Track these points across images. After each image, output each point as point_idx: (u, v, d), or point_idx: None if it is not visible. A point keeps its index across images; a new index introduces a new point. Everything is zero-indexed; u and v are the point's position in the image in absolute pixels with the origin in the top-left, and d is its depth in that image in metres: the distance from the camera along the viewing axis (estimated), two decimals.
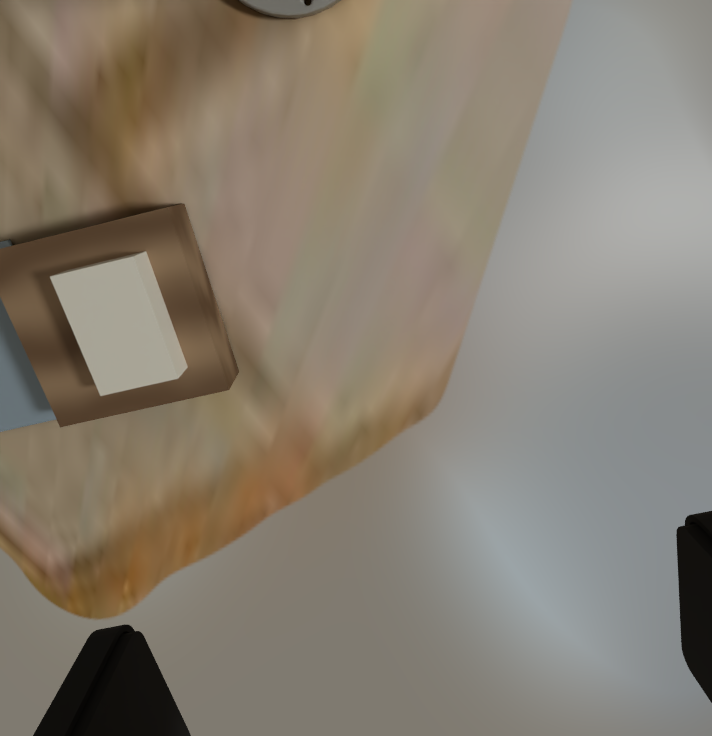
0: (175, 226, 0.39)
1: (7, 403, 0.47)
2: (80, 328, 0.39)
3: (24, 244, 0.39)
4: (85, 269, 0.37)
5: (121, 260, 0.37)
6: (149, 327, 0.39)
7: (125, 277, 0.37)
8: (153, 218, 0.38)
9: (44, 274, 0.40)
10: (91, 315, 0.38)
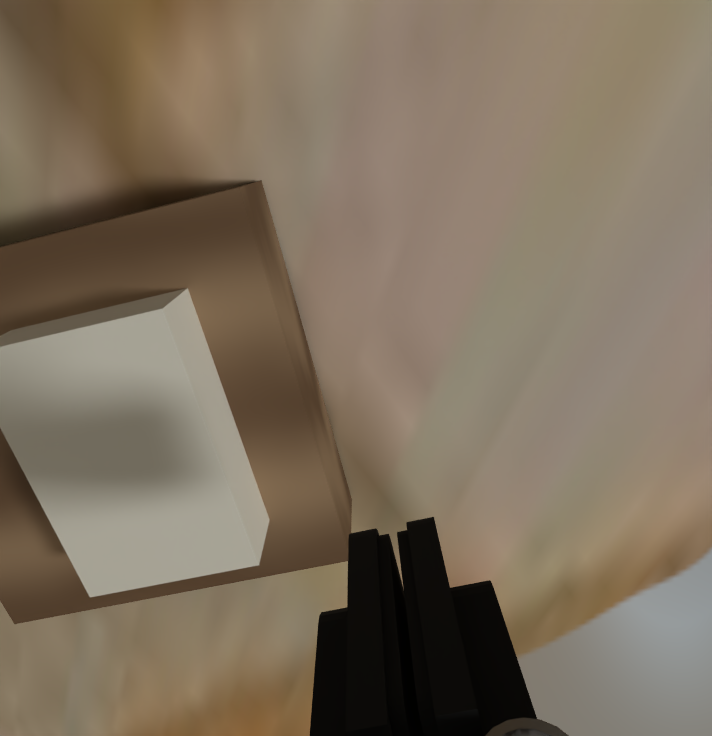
0: (255, 233, 0.17)
1: None
2: (41, 467, 0.17)
3: None
4: (47, 339, 0.15)
5: (133, 318, 0.15)
6: (198, 464, 0.17)
7: (144, 357, 0.16)
8: (205, 213, 0.17)
9: None
10: (64, 439, 0.17)
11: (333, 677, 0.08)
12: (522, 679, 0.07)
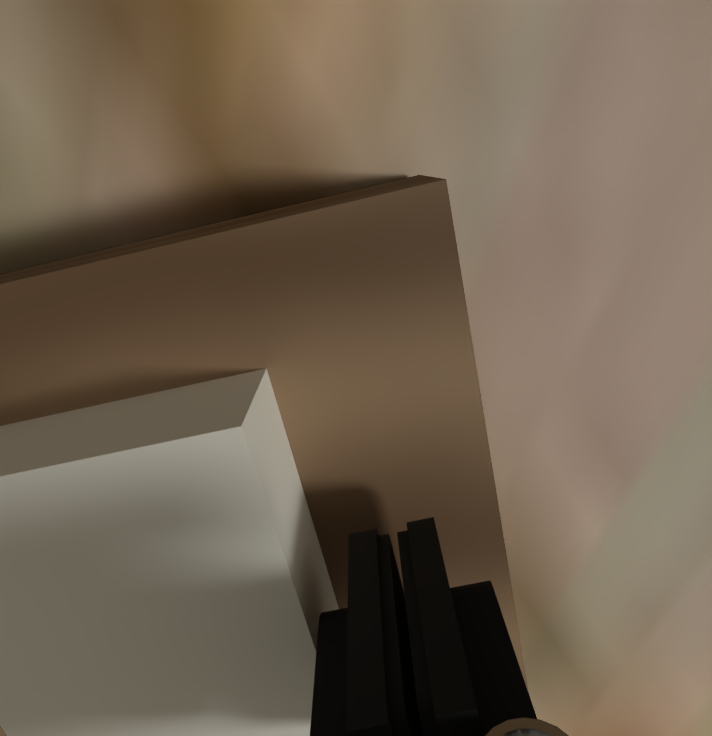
0: (457, 260, 0.10)
1: None
2: (9, 683, 0.10)
3: None
4: (20, 478, 0.08)
5: (185, 443, 0.08)
6: (285, 681, 0.10)
7: (200, 509, 0.08)
8: (378, 224, 0.09)
9: None
10: (51, 640, 0.09)
11: (333, 677, 0.08)
12: (522, 679, 0.07)
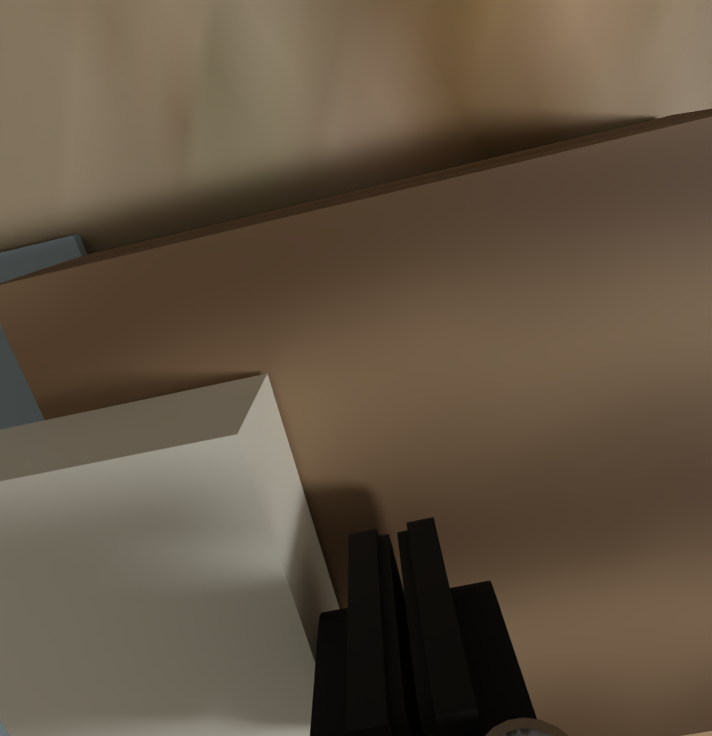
0: None
1: None
2: (11, 684, 0.10)
3: (165, 253, 0.10)
4: (19, 483, 0.08)
5: (181, 450, 0.08)
6: (283, 688, 0.10)
7: (197, 516, 0.08)
8: None
9: (233, 369, 0.10)
10: (52, 644, 0.09)
11: (333, 677, 0.08)
12: (522, 679, 0.07)
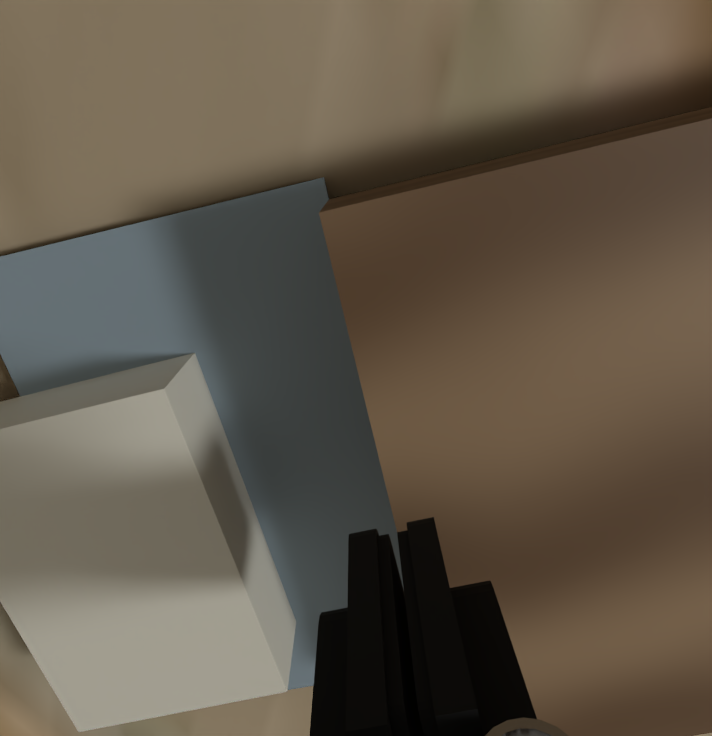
0: None
1: None
2: None
3: (517, 172, 0.09)
4: None
5: None
6: None
7: None
8: None
9: (563, 300, 0.10)
10: None
11: (333, 677, 0.08)
12: (522, 679, 0.07)
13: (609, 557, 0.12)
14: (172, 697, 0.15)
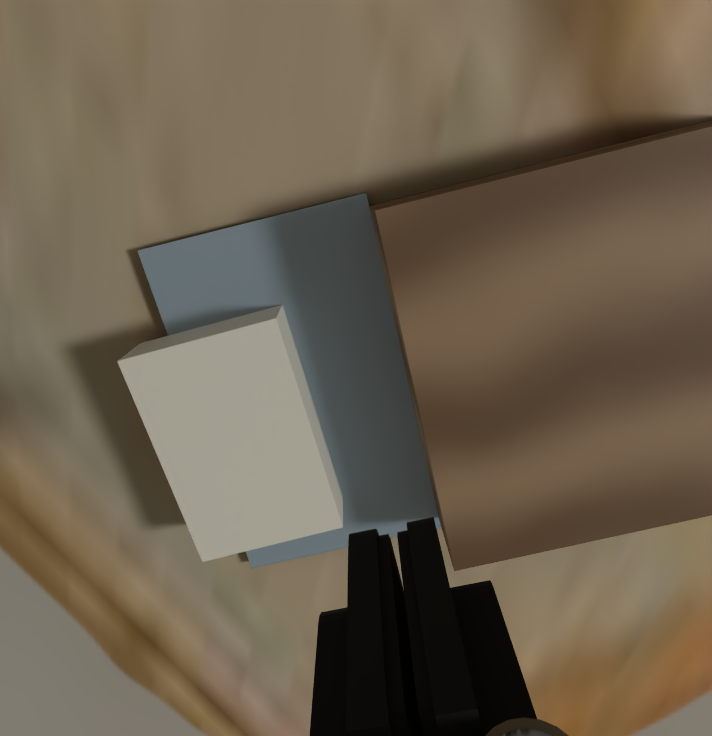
0: None
1: None
2: None
3: (479, 188, 0.17)
4: None
5: (161, 339, 0.22)
6: None
7: None
8: None
9: (506, 256, 0.18)
10: None
11: (333, 677, 0.08)
12: (522, 679, 0.07)
13: (542, 413, 0.20)
14: (266, 534, 0.22)
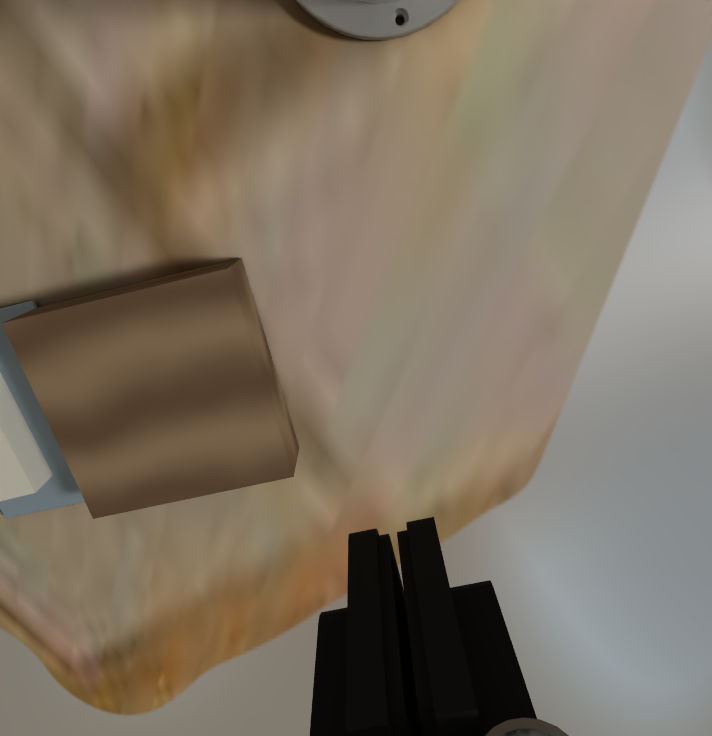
0: (236, 291, 0.32)
1: None
2: None
3: (54, 312, 0.32)
4: None
5: None
6: None
7: None
8: (210, 281, 0.32)
9: (78, 346, 0.33)
10: None
11: (333, 677, 0.08)
12: (522, 679, 0.07)
13: (120, 430, 0.35)
14: None
